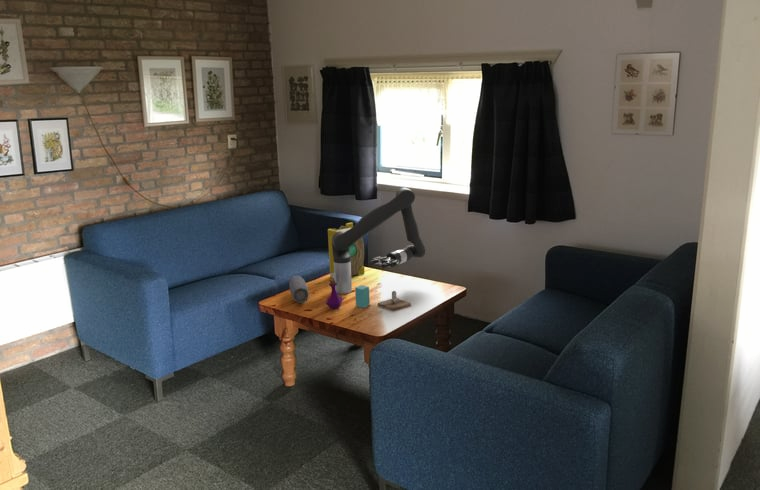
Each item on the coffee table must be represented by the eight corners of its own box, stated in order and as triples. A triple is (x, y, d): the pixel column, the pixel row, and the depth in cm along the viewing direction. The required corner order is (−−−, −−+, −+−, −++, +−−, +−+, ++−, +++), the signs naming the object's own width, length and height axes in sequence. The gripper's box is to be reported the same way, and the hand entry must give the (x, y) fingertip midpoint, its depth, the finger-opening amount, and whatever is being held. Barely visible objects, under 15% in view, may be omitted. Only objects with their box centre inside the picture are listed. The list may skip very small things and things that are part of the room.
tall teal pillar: (355, 306, 337) (355, 287, 334) (362, 303, 340) (361, 285, 338) (362, 308, 333) (362, 289, 331) (369, 305, 337) (369, 286, 334)
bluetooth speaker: (310, 304, 341) (309, 286, 339) (292, 306, 340) (291, 287, 337) (306, 291, 363) (305, 273, 360) (289, 292, 361) (288, 275, 359)
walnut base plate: (377, 305, 336) (377, 290, 335) (396, 300, 344) (395, 285, 342) (392, 311, 327) (392, 296, 325) (410, 305, 334) (410, 291, 332)
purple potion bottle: (339, 310, 332) (338, 276, 327) (325, 309, 333) (323, 275, 329) (343, 305, 339) (342, 271, 334) (329, 304, 340) (327, 271, 336)
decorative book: (339, 280, 379) (337, 230, 372) (328, 276, 388) (325, 227, 380) (366, 273, 392) (364, 224, 385) (354, 269, 400) (352, 221, 393)
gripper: (386, 249, 355) (365, 255, 344) (406, 253, 346) (386, 260, 334) (386, 262, 357) (366, 269, 346) (407, 266, 348) (386, 274, 336)
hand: (376, 264), depth 340 cm, fingers open, 8 cm apart
